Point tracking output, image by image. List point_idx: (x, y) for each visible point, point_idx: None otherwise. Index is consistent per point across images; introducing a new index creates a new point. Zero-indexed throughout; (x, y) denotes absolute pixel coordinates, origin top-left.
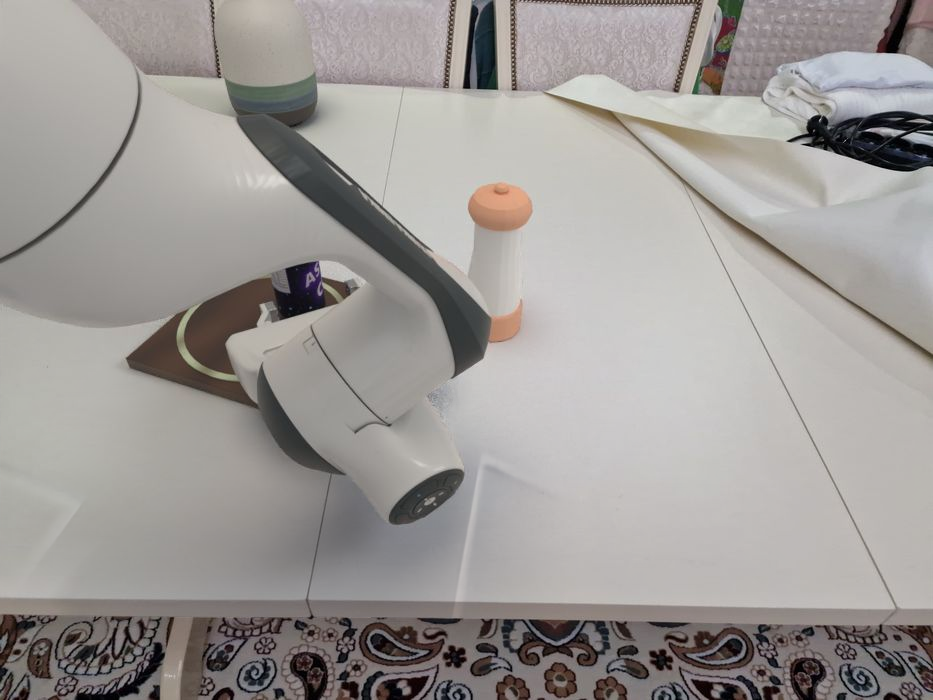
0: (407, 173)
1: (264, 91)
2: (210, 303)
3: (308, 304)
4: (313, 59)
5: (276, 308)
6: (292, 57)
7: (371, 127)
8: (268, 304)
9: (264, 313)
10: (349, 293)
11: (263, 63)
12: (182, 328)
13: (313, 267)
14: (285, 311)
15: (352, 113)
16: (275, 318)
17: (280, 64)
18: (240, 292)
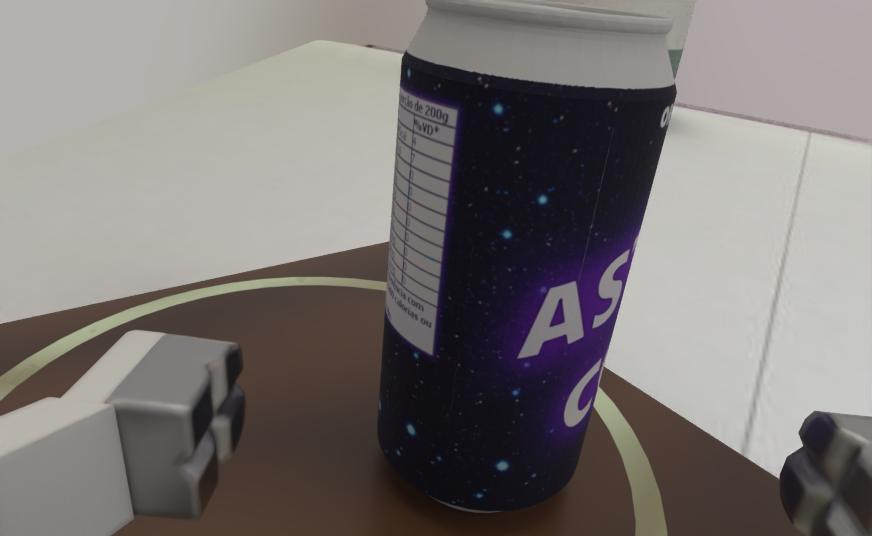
0: (842, 224)
1: None
2: (226, 304)
3: (498, 446)
4: (687, 30)
5: (183, 408)
6: (659, 4)
7: (752, 154)
8: (178, 352)
9: (51, 409)
10: (839, 529)
11: (608, 3)
12: (75, 340)
13: (600, 265)
14: (389, 431)
15: (717, 135)
16: (166, 484)
17: (635, 10)
18: (327, 308)
